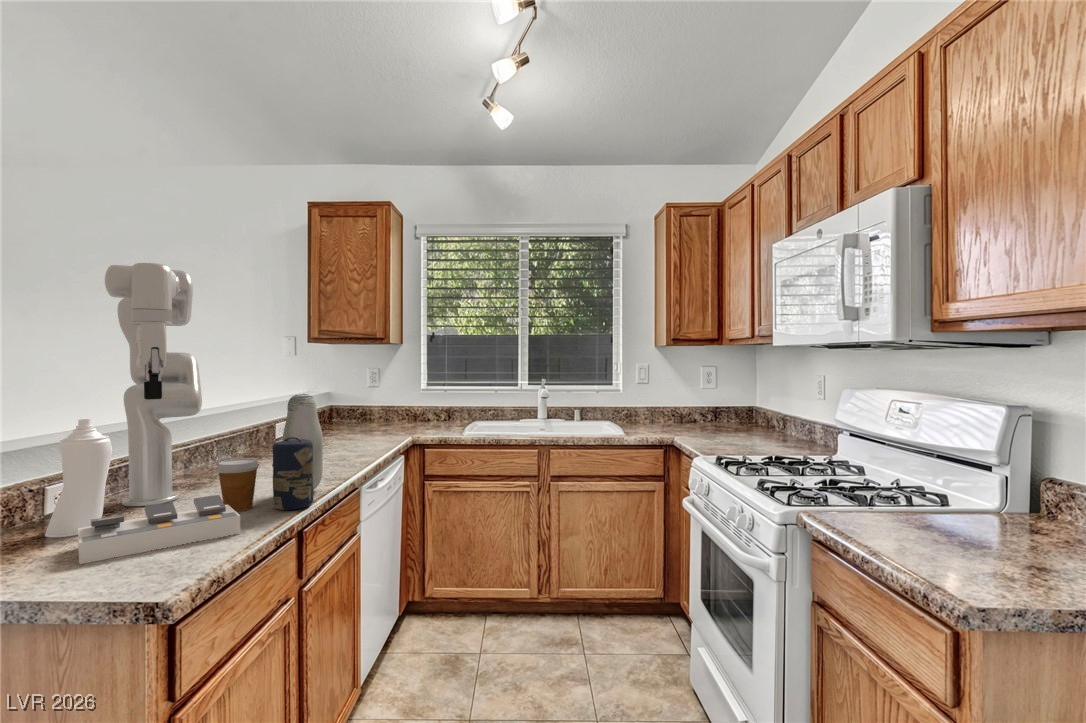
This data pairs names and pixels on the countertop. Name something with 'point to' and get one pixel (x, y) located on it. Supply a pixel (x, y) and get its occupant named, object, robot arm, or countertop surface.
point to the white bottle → (81, 480)
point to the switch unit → (153, 534)
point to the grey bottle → (306, 429)
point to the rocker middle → (160, 512)
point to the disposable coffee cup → (238, 482)
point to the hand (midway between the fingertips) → (153, 398)
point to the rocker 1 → (107, 520)
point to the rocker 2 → (209, 505)
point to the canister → (292, 474)
